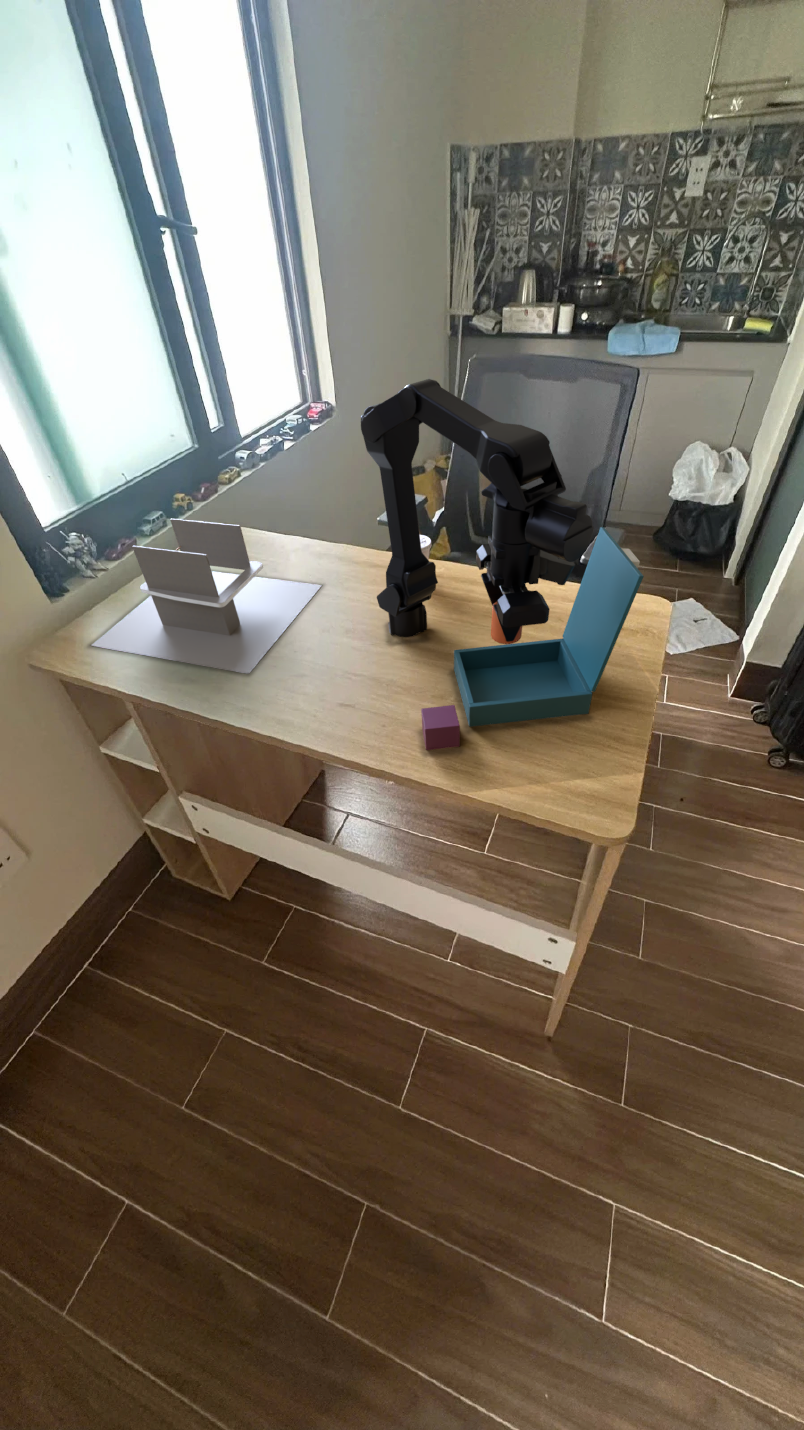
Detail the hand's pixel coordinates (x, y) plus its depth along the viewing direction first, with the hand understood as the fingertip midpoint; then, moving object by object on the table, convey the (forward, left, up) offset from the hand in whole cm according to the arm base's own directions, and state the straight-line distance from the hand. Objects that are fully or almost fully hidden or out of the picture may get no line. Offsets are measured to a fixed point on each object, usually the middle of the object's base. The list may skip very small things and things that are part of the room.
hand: (506, 631), depth 90 cm
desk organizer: (-52, +33, -12) cm, 63 cm away
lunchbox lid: (+13, -1, +3) cm, 13 cm away
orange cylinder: (0, 0, -1) cm, 1 cm away
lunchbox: (+2, -1, -12) cm, 12 cm away
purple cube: (-12, -10, -12) cm, 19 cm away
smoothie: (-10, +37, -12) cm, 40 cm away
